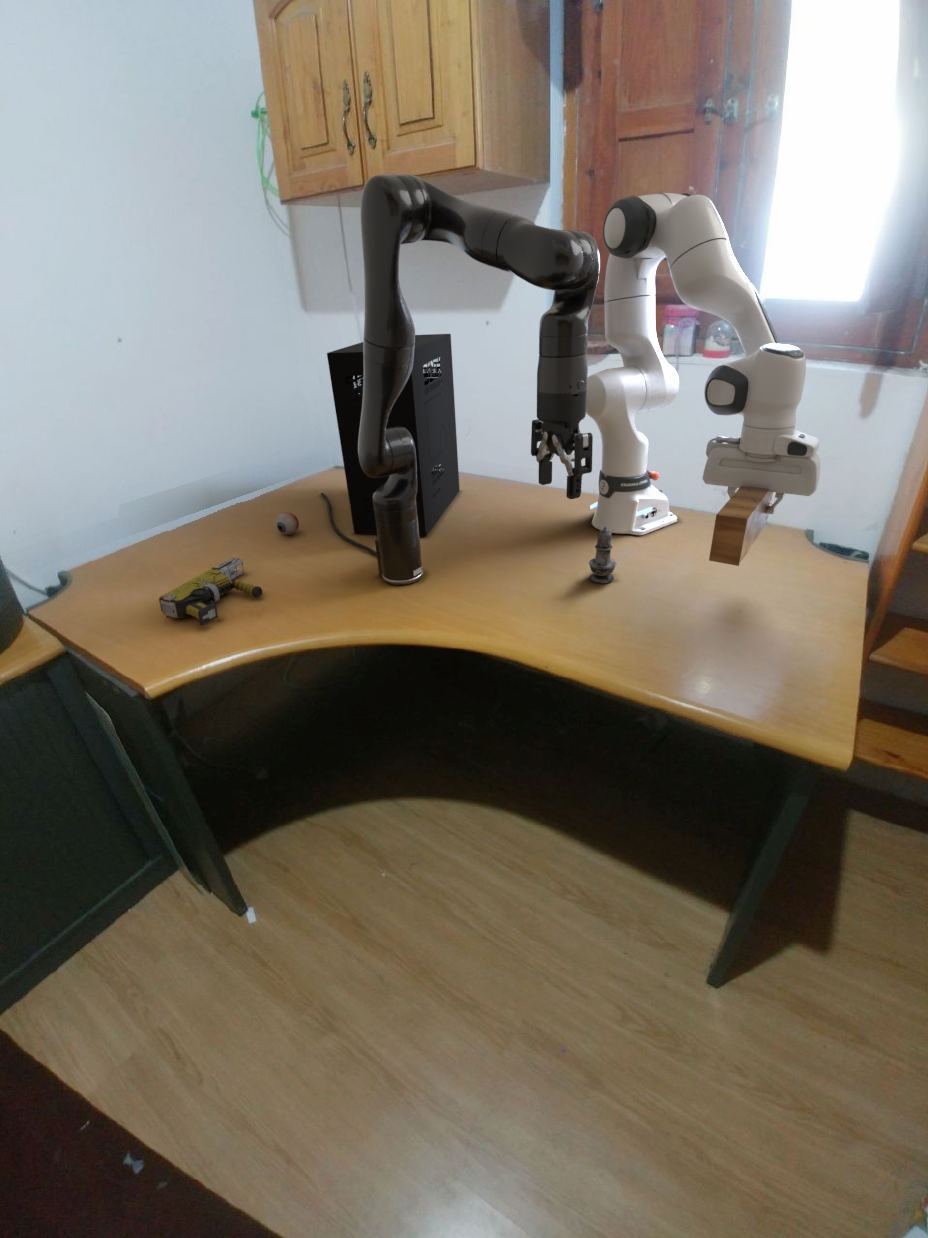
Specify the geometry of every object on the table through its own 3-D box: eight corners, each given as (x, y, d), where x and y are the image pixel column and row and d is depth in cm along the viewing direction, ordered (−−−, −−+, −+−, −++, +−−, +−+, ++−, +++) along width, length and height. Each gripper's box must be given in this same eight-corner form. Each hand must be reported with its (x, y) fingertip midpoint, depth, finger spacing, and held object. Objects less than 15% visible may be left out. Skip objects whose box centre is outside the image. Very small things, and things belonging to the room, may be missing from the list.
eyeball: (273, 537, 164) (268, 516, 161) (287, 528, 169) (282, 508, 166) (291, 539, 161) (286, 518, 158) (305, 530, 166) (301, 510, 163)
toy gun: (284, 566, 139) (229, 555, 143) (214, 612, 119) (152, 597, 123) (286, 584, 141) (232, 573, 145) (217, 632, 121) (157, 617, 125)
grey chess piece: (615, 584, 129) (619, 532, 123) (587, 583, 131) (590, 531, 125) (615, 572, 134) (619, 521, 128) (588, 571, 135) (591, 520, 129)
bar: (740, 519, 125) (747, 478, 121) (766, 523, 122) (775, 481, 118) (708, 560, 108) (716, 514, 104) (738, 566, 106) (747, 519, 101)
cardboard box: (426, 536, 158) (409, 350, 136) (354, 533, 163) (326, 352, 140) (459, 490, 190) (450, 333, 167) (398, 489, 194) (381, 336, 172)
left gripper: (517, 383, 95) (517, 483, 104) (566, 396, 84) (563, 507, 92) (557, 378, 98) (555, 476, 106) (611, 389, 87) (603, 498, 95)
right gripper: (703, 438, 116) (694, 508, 122) (824, 448, 105) (806, 523, 112) (712, 431, 120) (703, 499, 127) (829, 440, 109) (812, 513, 116)
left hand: (558, 490), depth 99 cm, fingers open, 8 cm apart
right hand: (752, 510), depth 119 cm, fingers closed on bar, 5 cm apart
